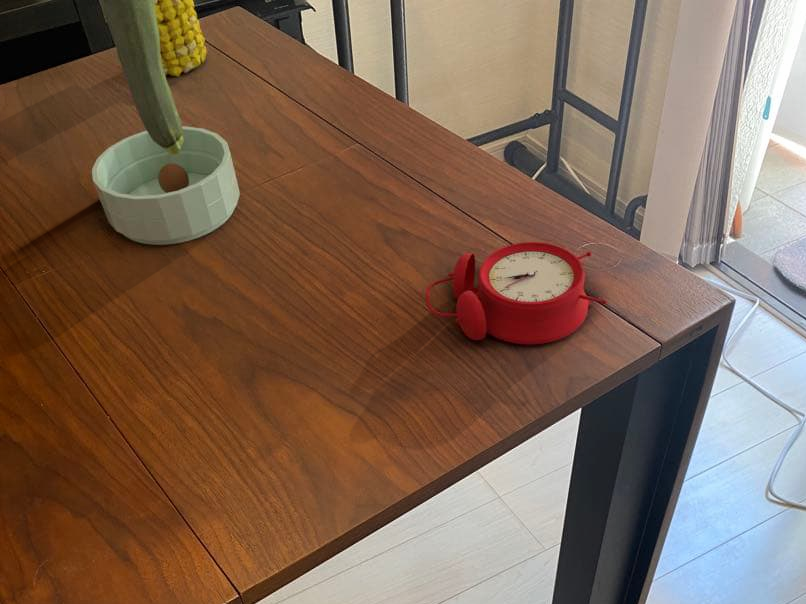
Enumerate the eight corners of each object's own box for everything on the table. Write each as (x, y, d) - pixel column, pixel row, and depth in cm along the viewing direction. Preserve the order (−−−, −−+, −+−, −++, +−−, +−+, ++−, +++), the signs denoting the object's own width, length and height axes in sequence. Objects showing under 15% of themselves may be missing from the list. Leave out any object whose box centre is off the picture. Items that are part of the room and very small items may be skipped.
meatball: (157, 196, 91) (148, 168, 89) (178, 182, 93) (170, 154, 90) (176, 204, 90) (168, 176, 87) (198, 190, 91) (190, 162, 89)
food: (222, 65, 115) (175, 102, 111) (154, 31, 117) (105, 65, 113) (211, -55, 102) (157, -20, 97) (135, -92, 104) (78, -59, 99)
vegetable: (142, 160, 83) (62, -82, 67) (162, 138, 85) (90, -100, 69) (182, 164, 82) (111, -80, 66) (201, 142, 84) (137, -99, 68)
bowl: (83, 221, 91) (63, 173, 86) (179, 162, 97) (165, 114, 93) (171, 263, 85) (155, 213, 80) (267, 197, 91) (257, 148, 87)
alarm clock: (616, 306, 70) (441, 287, 68) (591, 363, 75) (427, 348, 73) (592, 235, 77) (432, 216, 74) (571, 292, 82) (419, 276, 79)
